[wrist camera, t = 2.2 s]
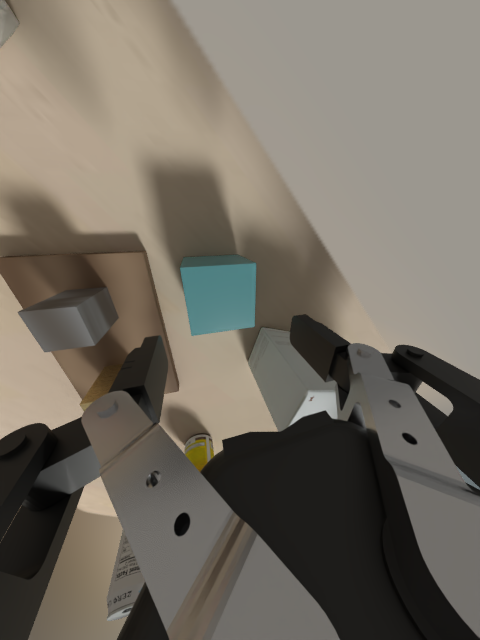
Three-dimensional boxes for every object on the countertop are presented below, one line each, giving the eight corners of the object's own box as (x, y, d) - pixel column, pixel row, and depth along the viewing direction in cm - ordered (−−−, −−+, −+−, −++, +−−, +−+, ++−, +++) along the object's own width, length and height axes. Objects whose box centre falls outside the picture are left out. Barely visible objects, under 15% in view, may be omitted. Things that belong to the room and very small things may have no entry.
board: (146, 251, 18) (123, 259, 12) (179, 383, 28) (175, 426, 22) (6, 256, 16) (-107, 270, 10) (94, 400, 25) (62, 453, 19)
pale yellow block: (135, 361, 22) (120, 396, 18) (143, 381, 24) (131, 418, 19) (104, 366, 22) (79, 404, 17) (114, 386, 23) (94, 426, 18)
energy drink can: (129, 489, 37) (96, 627, 24) (139, 474, 36) (108, 612, 23) (158, 488, 40) (141, 612, 27) (168, 473, 38) (155, 598, 25)
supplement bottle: (178, 445, 35) (174, 518, 26) (198, 429, 34) (200, 498, 25) (199, 451, 37) (201, 519, 28) (217, 437, 37) (225, 502, 28)
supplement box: (246, 363, 29) (278, 440, 18) (261, 325, 27) (309, 389, 16) (282, 366, 32) (329, 435, 21) (299, 332, 29) (363, 391, 18)
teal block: (237, 254, 21) (256, 263, 15) (238, 303, 24) (254, 326, 18) (183, 257, 20) (179, 267, 14) (191, 308, 23) (191, 335, 17)
